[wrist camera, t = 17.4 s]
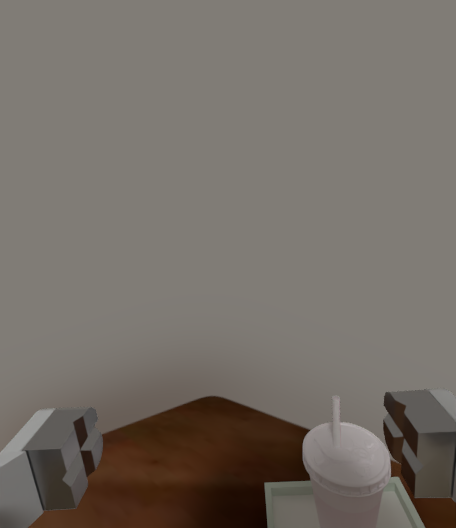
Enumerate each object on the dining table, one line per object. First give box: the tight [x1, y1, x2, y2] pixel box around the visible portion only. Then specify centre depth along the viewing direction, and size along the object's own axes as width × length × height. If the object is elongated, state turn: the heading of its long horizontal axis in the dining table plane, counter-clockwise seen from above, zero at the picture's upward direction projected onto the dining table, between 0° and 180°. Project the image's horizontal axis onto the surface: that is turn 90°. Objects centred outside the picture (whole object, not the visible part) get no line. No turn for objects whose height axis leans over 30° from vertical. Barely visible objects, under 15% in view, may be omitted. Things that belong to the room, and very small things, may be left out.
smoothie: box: [302, 396, 391, 528], centre depth 26 cm, size 6×6×14 cm
